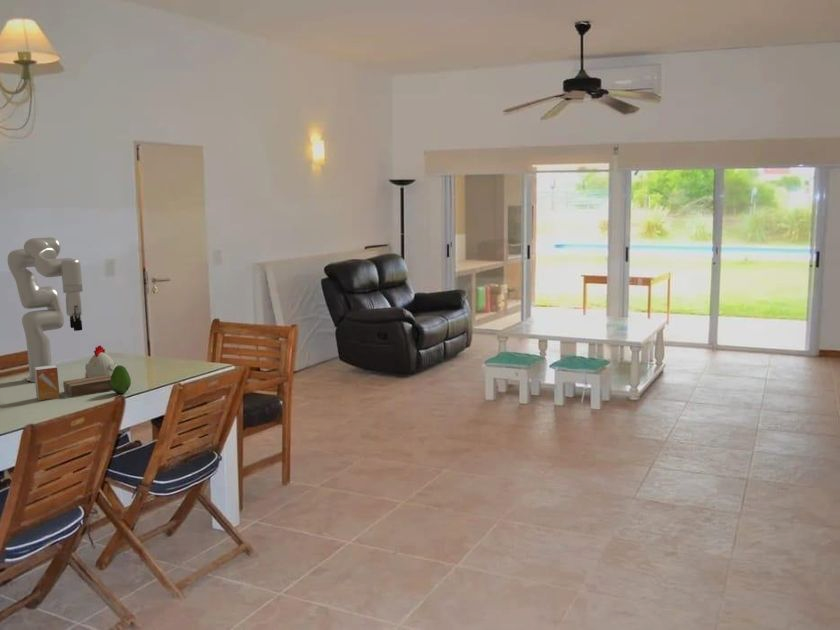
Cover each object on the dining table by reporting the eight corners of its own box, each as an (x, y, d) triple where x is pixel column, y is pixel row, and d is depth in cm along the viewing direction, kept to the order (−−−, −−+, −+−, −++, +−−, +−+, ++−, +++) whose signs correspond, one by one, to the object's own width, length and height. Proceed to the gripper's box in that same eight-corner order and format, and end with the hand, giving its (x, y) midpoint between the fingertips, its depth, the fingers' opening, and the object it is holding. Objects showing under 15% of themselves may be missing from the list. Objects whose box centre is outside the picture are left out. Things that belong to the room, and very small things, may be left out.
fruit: (125, 395, 329) (122, 367, 327) (107, 395, 330) (105, 367, 328) (135, 391, 336) (132, 363, 335) (117, 390, 338) (115, 363, 336)
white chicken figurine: (79, 381, 358) (76, 348, 356) (95, 374, 372) (92, 343, 370) (108, 381, 357) (106, 348, 355) (123, 374, 370) (121, 343, 368)
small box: (38, 401, 323) (35, 369, 322) (36, 398, 329) (33, 367, 327) (60, 397, 328) (57, 367, 326) (57, 395, 333) (54, 364, 331)
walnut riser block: (64, 392, 338) (63, 381, 337) (107, 385, 349) (106, 374, 349) (72, 397, 329) (71, 386, 328) (116, 390, 340) (115, 379, 339)
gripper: (60, 288, 338) (64, 327, 341) (66, 291, 324) (69, 332, 326) (79, 286, 342) (82, 325, 345) (85, 289, 328) (89, 330, 330)
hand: (76, 329), depth 335 cm, fingers open, 9 cm apart
